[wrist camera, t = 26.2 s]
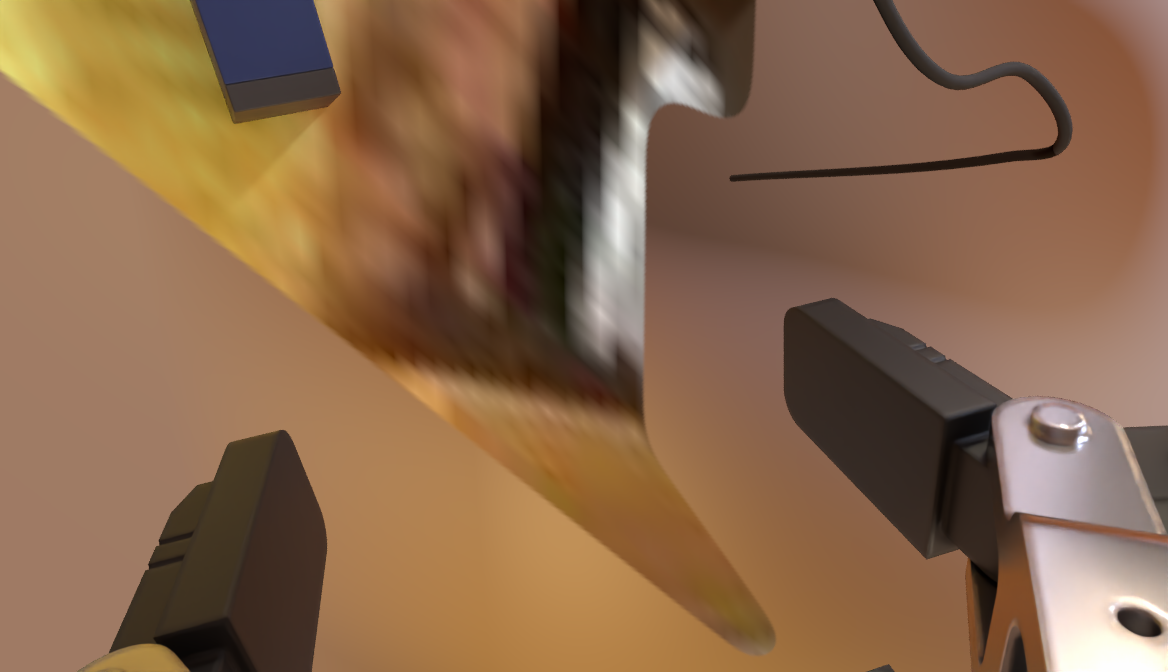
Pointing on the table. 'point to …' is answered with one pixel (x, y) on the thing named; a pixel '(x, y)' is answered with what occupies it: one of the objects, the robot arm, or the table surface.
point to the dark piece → (267, 56)
